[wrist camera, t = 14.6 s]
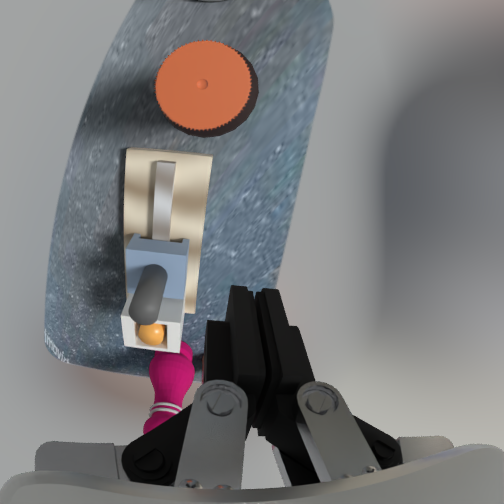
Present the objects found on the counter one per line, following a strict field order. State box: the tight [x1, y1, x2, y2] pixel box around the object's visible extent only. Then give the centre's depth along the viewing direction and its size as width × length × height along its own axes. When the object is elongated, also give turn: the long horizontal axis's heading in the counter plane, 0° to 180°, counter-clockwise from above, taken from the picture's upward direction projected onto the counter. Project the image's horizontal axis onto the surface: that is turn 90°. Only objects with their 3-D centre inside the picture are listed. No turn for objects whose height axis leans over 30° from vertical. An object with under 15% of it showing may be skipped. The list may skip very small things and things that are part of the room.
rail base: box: [124, 147, 213, 314], centre depth 37 cm, size 22×10×3 cm, turn 170°
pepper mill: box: [143, 341, 195, 434], centre depth 39 cm, size 7×7×20 cm
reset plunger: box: [138, 323, 165, 345], centre depth 35 cm, size 3×3×4 cm
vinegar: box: [154, 40, 259, 138], centre depth 22 cm, size 7×7×20 cm
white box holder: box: [121, 286, 186, 353], centre depth 37 cm, size 5×7×8 cm
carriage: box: [126, 233, 190, 325], centre depth 33 cm, size 6×7×11 cm
